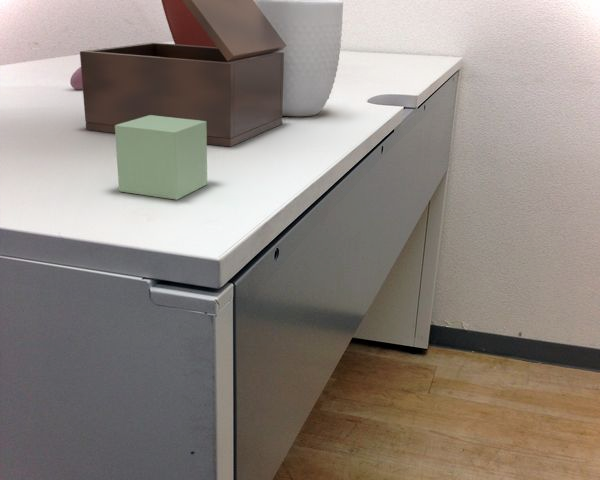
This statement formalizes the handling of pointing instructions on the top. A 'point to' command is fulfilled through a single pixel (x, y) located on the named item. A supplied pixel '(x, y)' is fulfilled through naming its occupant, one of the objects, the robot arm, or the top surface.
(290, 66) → the mug
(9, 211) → the top surface
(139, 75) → the chest
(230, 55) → the lid
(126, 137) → the block
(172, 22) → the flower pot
